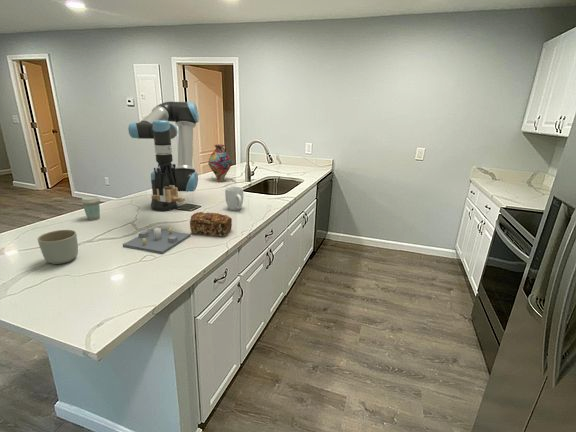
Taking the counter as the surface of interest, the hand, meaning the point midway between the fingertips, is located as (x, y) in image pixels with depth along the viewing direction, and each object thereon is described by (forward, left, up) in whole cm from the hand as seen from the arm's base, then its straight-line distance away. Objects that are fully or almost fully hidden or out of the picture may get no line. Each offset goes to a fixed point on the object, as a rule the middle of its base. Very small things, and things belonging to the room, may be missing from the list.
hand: (168, 199), depth 160 cm
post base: (+6, -17, -15) cm, 24 cm away
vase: (-27, +105, -15) cm, 110 cm away
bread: (+23, +2, -16) cm, 28 cm away
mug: (+18, +40, -15) cm, 47 cm away
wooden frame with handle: (0, 0, 0) cm, 0 cm away
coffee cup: (-46, -4, -15) cm, 49 cm away
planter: (-17, -46, -15) cm, 52 cm away
